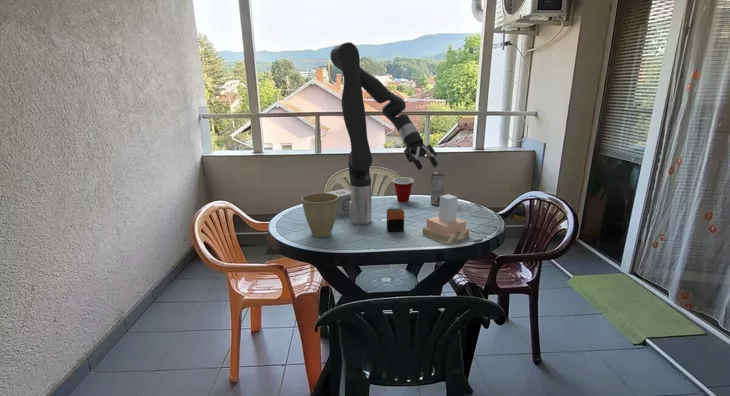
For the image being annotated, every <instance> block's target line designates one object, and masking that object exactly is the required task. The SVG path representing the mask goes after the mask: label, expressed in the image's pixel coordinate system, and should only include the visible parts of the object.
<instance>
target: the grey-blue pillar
mask: <svg viewBox="0 0 730 396" xmlns="http://www.w3.org/2000/svg"><path fill="white" fill-rule="evenodd" d="M438 207H439V210H438V212H439V213H438V216H439V220H440V221H443V222H445V223H450V222H454V221H456V218H457V212H458V211H457V210H458V196H455V195H452V194H450V193H448V194H443V196H440V205H438Z"/></svg>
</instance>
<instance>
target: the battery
mask: <svg viewBox="0 0 730 396" xmlns="http://www.w3.org/2000/svg"><path fill="white" fill-rule="evenodd" d="M386 230H387V232H388V233H394V232H395V233H401V232H404V231H405V211H404V209H403V208H402V207H400V206H399V207H397V208H396V207H395V208H394V207H393V206H390V207H388V208H387V209H386Z"/></svg>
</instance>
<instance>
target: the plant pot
mask: <svg viewBox="0 0 730 396" xmlns="http://www.w3.org/2000/svg"><path fill="white" fill-rule="evenodd" d="M338 198H339V197H338V196H337V195H335V194H331V193H327V192H318V193H317V192H315V193H309V194H307V195H304V196H302V197H301V204H302V208H303V212H304V213H303V214H304V216H305V219H306V221H307V224H308V227H309V229H310V232H311V234H312V236H313V237H315V238H327V237H329V236H331V234H332V231H333V228H334V225H335V222H336V217H337V216H336V213H337V207H338Z"/></svg>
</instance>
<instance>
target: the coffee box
mask: <svg viewBox="0 0 730 396" xmlns="http://www.w3.org/2000/svg"><path fill="white" fill-rule="evenodd" d="M430 182H431V185H430V205H431V204H433V205H434V206H435V205H437V206H439V205H440V196H443V195H445V194H444V193H445V188H444V187H445V171H444V170H432V171H431V181H430Z"/></svg>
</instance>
